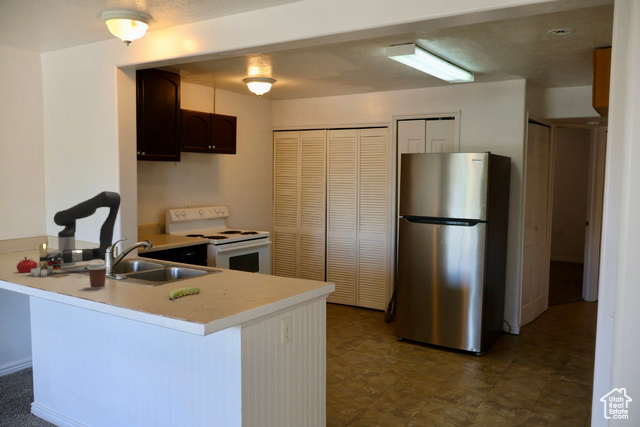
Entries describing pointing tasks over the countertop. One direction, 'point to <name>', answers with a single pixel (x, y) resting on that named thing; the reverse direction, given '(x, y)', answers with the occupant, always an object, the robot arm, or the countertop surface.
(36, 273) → the mat
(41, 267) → the gold tall tapered cylinder
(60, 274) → the walnut pad
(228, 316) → the countertop surface
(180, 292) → the green caterpillar
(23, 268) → the red tomato
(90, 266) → the coffee cup
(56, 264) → the canned food
